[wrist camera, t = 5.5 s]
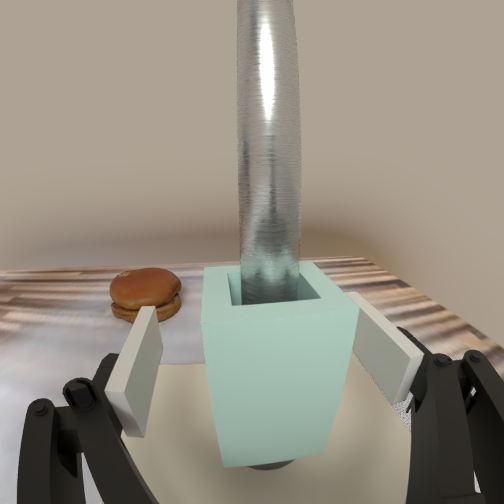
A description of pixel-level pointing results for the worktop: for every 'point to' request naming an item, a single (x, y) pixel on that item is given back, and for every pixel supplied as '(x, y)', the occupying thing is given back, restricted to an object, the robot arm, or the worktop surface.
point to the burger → (145, 293)
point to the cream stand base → (279, 480)
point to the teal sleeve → (275, 365)
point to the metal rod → (268, 155)
